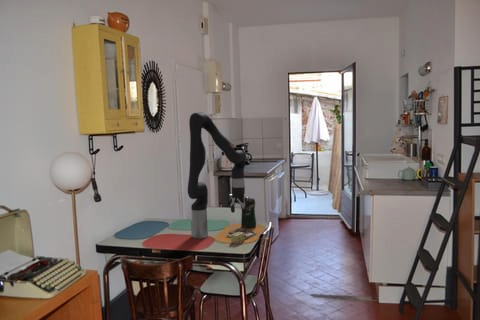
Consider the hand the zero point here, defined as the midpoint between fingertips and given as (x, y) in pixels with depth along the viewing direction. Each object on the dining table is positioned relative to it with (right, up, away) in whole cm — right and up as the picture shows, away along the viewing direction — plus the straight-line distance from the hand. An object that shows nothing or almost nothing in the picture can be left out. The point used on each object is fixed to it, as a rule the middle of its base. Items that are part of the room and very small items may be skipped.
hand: (238, 213), depth 228 cm
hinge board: (+2, -15, +15) cm, 21 cm away
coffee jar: (+6, -13, +33) cm, 36 cm away
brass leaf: (0, -17, +3) cm, 17 cm away
